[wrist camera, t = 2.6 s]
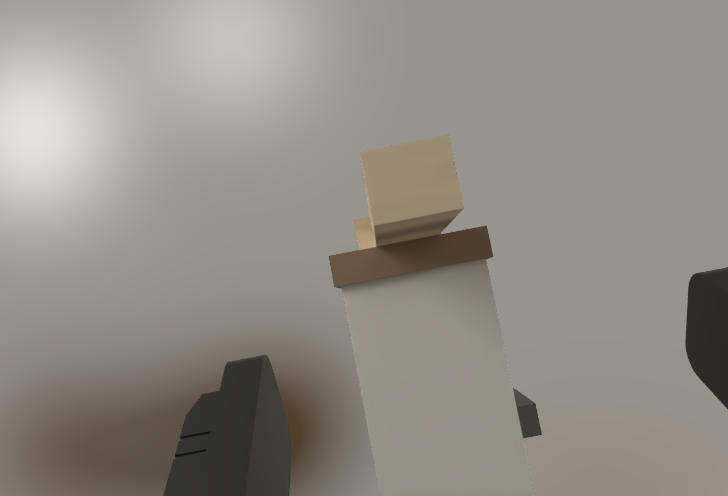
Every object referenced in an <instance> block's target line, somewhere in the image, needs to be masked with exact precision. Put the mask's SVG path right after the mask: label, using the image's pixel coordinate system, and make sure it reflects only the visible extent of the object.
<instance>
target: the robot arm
mask: <svg viewBox="0 0 728 496" xmlns="http://www.w3.org/2000/svg"><path fill="white" fill-rule="evenodd" d="M687 307H688V308H687V325H686V352H687V356H688V359H689V362H690V364H691V366H692V368H693V370H694V372H695V373H696V375H697V376H698V377H699V378H700V379H701V381H702V382H703V383H704V384H705V385H706V386H707V387H708V388H709V389H710V390H711V391H712V392H713V394H714V395H715V396H716V397H717V398H718V399H719V400H720V401H721V402H722V403H723V404H724V406H725V407H726V408H727V409H728V267H727V268H723V269H717V270H712V271H706V272H701V273H696V274H694V275H693V276H692V277H691V279H690V282H689V288H688V306H687ZM180 438H181V441H179V443H178V446H177V450H176V453H175V458H176V459H175V460H173V464H172V467H171V471H170V474H169V478H168V481H167V485H166V489H165V492H164V495H163V496H289V489H290V468H291V438H290V431H289V425H288V421H287V417H286V413H285V410H284V406H283V403H282V400H281V397H280V393H279V390H278V386H277V383H276V380H275V376H274V373H273V369H272V366H271V363H270V360H269V358H268V357H267V356H266V355H262V356H257V357H252V358H247V359H241V360H237V361H231V362H227V364H226V366H225V370H224V374H223V378H222V383H221V387H220V391H217V392H212V393H207V394H203V395H202V396H201V397H200V398H199V400H198V401H197V402H196V403H195V405H194V406H193V407H192V408H191V410H190V411H189V412H188V414H187V415H186V418H185V421H184V425H183V428H182V432H181V436H180Z"/></svg>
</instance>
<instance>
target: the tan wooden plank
mask: <svg viewBox="0 0 728 496" xmlns="http://www.w3.org/2000/svg"><path fill="white" fill-rule="evenodd" d="M360 157H361V163H362V170H363V176H364V182H365V189H366V195H367V202H368V208H369V214H370V217H365V218H360V219H355V220H354V224H355V229H356V235H357V240H358V245H359V250H363V249H368V248H373V247H378V246H383V245H389V244H394V243H399V242H404V241H409V240H415V239H420V238H425V237H430V236H435V235H441V232H442V231H443V230H444V229H445V228H446V227H447V226H448V224H449V223H450V222H451V221H452V220H453V219H454V218H455V217H456V216H457V215H458V214H459V213H460V212H461V211H462V210H463V209H464V206H463V201H462V196H461V192H460V187H459V182H458V177H457V172H456V167H455V162H454V158H453V153H452V148H451V143H450V138H449V135H445V136H439V137H435V138H430V139H424V140H419V141H414V142H409V143H403V144H398V145H393V146H388V147H383V148H378V149H373V150H368V151H362V152H360Z"/></svg>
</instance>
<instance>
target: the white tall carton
mask: <svg viewBox="0 0 728 496" xmlns="http://www.w3.org/2000/svg"><path fill="white" fill-rule="evenodd" d="M491 257H493V254H492V249H491V244H490V239H489V234H488V229H487V226H482V227H478V228H472V229H467V230H461V231H456V232H451V233H446V234H441V235H435V236H430V237H425V238H420V239H415V240H409V241H404V242H399V243H394V244H389V245H383V246H378V247H373V248H368V249H363V250H357V251H352V252H347V253H342V254H337V255H331V256H329V260H330V266H331V271H332V276H333V282H334V287H337V288H342V293H343V298H344V304H345V309H346V314H347V320H348V325H349V330H350V336H351V341H352V346H353V352H354V357H355V362H356V368H357V373H358V379H359V384H360V389H361V395H362V400H363V405H364V411H365V416H366V421H367V427H368V431H369V437H370V443H371V448H372V453H373V458H374V464H375V469H376V475H377V480H378V485H379V491H380V496H535V494H534V489H533V484H532V479H531V475H530V469H529V465H528V460H527V455H526V450H525V445H524V440H523V438H527V437H533V436H538V435H542V433H541V428H540V424H539V419H538V414H537V409H536V404H535V403H534V402H533V401H531V400H530V399H528V398H527V397H525V396H524V395H522V394H521V393H520V392H518V391H517V390H515V389H514V388H513V387H512V382H511V378H510V373H509V369H508V363H507V358H506V353H505V349H504V344H503V339H502V334H501V329H500V324H499V320H498V315H497V310H496V305H495V300H494V295H493V291H492V286H491V281H490V276H489V271H488V267H487V262H486V259H488V258H491Z"/></svg>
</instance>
